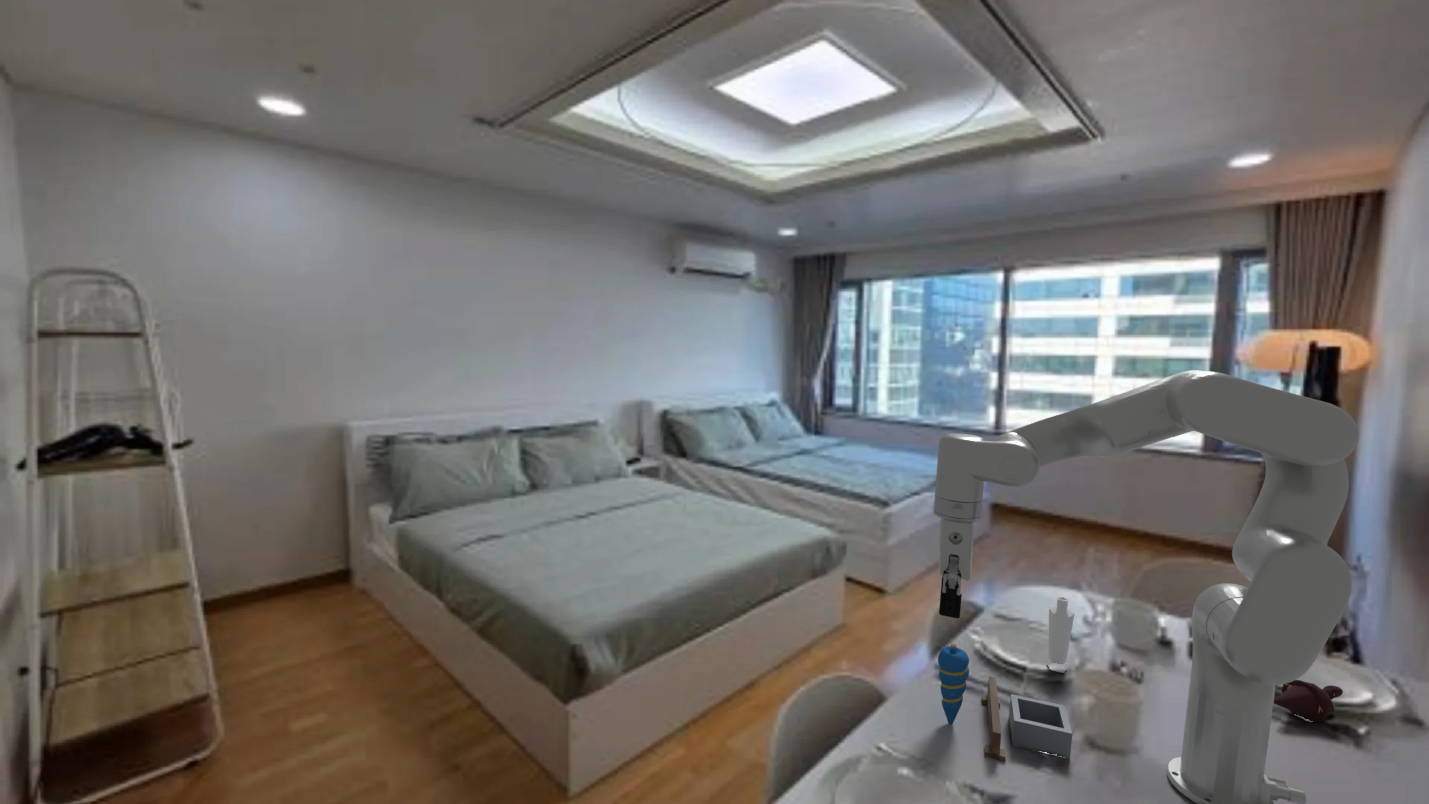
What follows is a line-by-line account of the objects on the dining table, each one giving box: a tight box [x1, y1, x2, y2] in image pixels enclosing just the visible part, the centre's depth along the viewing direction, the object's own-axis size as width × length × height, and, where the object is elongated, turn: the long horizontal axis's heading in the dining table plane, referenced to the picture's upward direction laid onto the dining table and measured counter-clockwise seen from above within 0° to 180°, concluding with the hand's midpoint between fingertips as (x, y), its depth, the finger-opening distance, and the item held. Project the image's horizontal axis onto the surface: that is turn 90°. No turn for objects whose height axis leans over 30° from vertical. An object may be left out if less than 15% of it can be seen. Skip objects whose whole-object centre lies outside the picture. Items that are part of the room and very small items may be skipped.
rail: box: [981, 675, 1007, 763], centre depth 108 cm, size 3×18×4 cm, turn 158°
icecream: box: [1273, 679, 1344, 723], centre depth 113 cm, size 7×7×15 cm
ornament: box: [937, 640, 970, 725], centre depth 108 cm, size 5×5×15 cm
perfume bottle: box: [1048, 596, 1075, 664], centre depth 127 cm, size 5×4×15 cm
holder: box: [1008, 693, 1073, 761], centre depth 105 cm, size 8×8×4 cm
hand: (949, 604), depth 107 cm, fingers open, 9 cm apart
